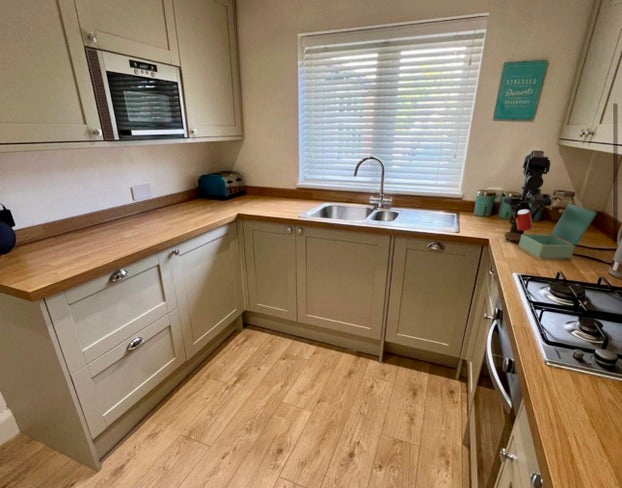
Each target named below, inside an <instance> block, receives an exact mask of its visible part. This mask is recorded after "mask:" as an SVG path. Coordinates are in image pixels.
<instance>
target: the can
mask: <svg viewBox="0 0 622 488" xmlns="http://www.w3.org/2000/svg"><path fill="white" fill-rule="evenodd" d="M516 223H517V229H518V230H520V231H524V232H525V231H529V230H532V229H533V219H531V211H530V210H526V209H525V210H519V211H518V214H517V218H516Z"/></svg>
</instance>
